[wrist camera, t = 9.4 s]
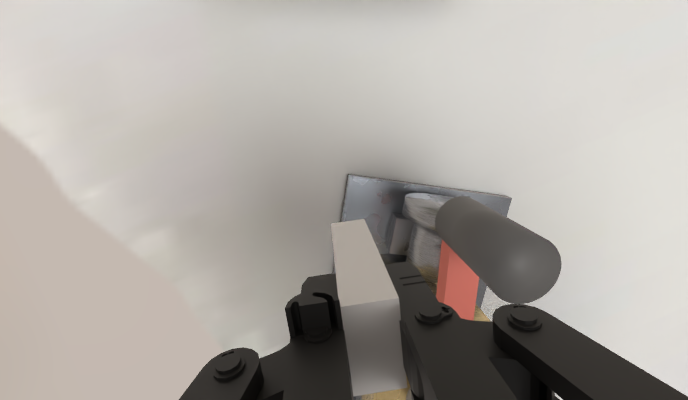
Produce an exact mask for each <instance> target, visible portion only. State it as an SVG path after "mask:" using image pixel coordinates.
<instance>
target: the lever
mask: <svg viewBox="0 0 688 400" xmlns="http://www.w3.org/2000/svg"><path fill="white" fill-rule="evenodd" d="M435 228H436V231H437V233H438V235H439V236H440V238H441V239H442V244H441V254H440V264H439V273H438V283H437V293H436V298H437V300H438V301H439V302H441V303H444V304H446V305H448V306H450V307H452V308H453V309H454V310H455V311H456V312H457V314H458V315H459V316H460V318H462V319H466V320H473V319H474V312H475V305H476V298H477V290H478V283H479V278H480V279H481V280H482V281H483V282H484V283H485V284H486V285H487V286H488V287H489V288H490V289H491V290H492V291H493V292H494V293H495V294H496V295H497V296H498V297H499V298H501V299H502V300H504V301H506V302H509V303H514V304H524V303H529V302H532V301H535V300H537V299H539V298H540V297H542V296H543V295H545V294H546V293H547V292H548V291H549V290H550V289H551V288H552V287H553V286H554V284H555V283H556V281H557V279H558V277H559V274H560V270H561V258H560V254H559V252H558V250H557V248H556V247H555V246H554V245H553V244H552V243H551V242H550V241H548V240H547V239H545V238H543V237H541V236H539V235H538V234H536V233H534V232H532V231H530V230H528V229H527V228H525V227H523V226H521V225H519V224H518V223H516V222H514V221H512V220H510V219H509V218H507V217H505V216H503V215H501V214H500V213H498V212H496V211H494V210H492V209H491V208H489V207H487V206H485V205H483V204H482V203H480V202H478V201H476V200H474V199H472V198H470V197H465V196H460V197H455V198H452V199H450V200H448V201H447V202H445V203H444V204H443V205H442V206H441V207H440V209H439V210H438V212H437V215H436V218H435ZM406 400H412V398H411V387H410V388H409V390H408V392H407V395H406Z"/></svg>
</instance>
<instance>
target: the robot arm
mask: <svg viewBox="0 0 688 400" xmlns="http://www.w3.org/2000/svg"><path fill="white" fill-rule="evenodd" d="M331 232H332V242H333V251H334V261H335V271H336V273H333V274H327V275H320V276H313V277H308V278H307V280H306V281H305V282H304V283H303V285H302V290H301V294H299V295H297V296H295V297H294V298H292V299H291V300H290V301H289V302H288V303H287V305H286V307H285V311H286V317H287V322H288V327H289V332H290V337H291V338H290V343H289V344H288V345H287V346H285V347H284V348H283V349H281V350H279V351H277V352H275V353H273V354H270V355H268V356H265V357H263V358H260V359H259V356H258V353H256V352H255V351H254V350H252V349H248V348H236V349H231V350H228V351H226V352H223V353H221V354H219V355H218V356H216V357H214V358H213V359H211V360H210V361H209V362H208V363H207V364H206V365H205V366H204V367H203V369H202V370H201V371H200V372H199V374H198V375H197V377H196V378H195V379H194V381H193V382H192V383H191V384H190V386H189V387H188V389H187V390H186V391H185V392H184V394H183V395H182V396H181V398H180V399H179V400H354V398H353V396H359V395H365V394H372V393H378V392H384V391H390V390H396V389H402V388H407V380H406V375H407V378H408V381H409V384H410V387H411V398H412V400H559V399H558V398H557V397H556V396H555V393H556V394H557V395H558V396H560V397H561V398H562V399H563V400H688V397H687V396H686V395H684V394H682V393H681V392H679V391H677V390H676V389H674V388H672V387H671V386H669V385H667V384H666V383H664V382H662V381H660V380H659V379H657V378H655V377H654V376H652V375H650V374H649V373H647V372H645V371H644V370H642V369H640V368H639V367H637V366H635V365H634V364H632V363H630V362H629V361H627V360H625V359H624V358H622V357H620V356H619V355H617V354H615V353H614V352H612V351H610V350H609V349H607V348H605V347H604V346H602V345H600V344H599V343H597V342H595V341H594V340H592V339H590V338H588V337H587V336H585V335H583V334H582V333H580V332H578V331H577V330H575V329H573V328H572V327H570V326H568V325H567V324H565V323H563V322H562V321H560V320H558V319H557V318H555V317H553V316H552V315H550V314H548V313H547V312H545V311H542V310H540V309H538V308H536V307H532V306H527V305H523V304H510V305H505V306H501V307H500V308H498V309H496V310H495V312H494V314H493V322H489V321H474V320H466V319H462V318H460V316H459V315H458V314H457V312H456V311H455V310H454V309H453V308H452V307H450V306H448V305H446V304H444V303H441V302H439V301H438V300H437V298H436V297H435V295H434V294H433V292H432V290H431V289H430V287H429V286H428V284H427V283H426V282H425V280H424V278H423V277H422V276H421V273H420V272H419V270H418V269H417V267H415V266H414V265H412V264H410V263H408V262H400V263H394V264H387V265H384V263H383V260H382V258H381V256H380V254H379V251H378V249H377V247H376V244H375V242H374V240H373V238H372V235H371V233H370V231H369V228H368V226H367V224H366V222H365V219H359V220H352V221H345V222H338V223H331Z"/></svg>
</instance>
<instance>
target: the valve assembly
mask: <svg viewBox="0 0 688 400" xmlns="http://www.w3.org/2000/svg"><path fill="white" fill-rule="evenodd" d="M460 196H465V197H470V198H472V199H474V200H476V201H478V202H480V203H482V204H483V205H485V206H487V207H489V208H491V209H492V210H494V211H496V212H498V213H500V214H501V215H503V216H505V217H507V213H508V210H509V206H510V203H511V199H512V198H510V197H508V196H503V195H495V194H488V193H481V192H474V191H467V190H459V189H452V188H445V187H438V186H431V185H424V184H416V183H409V182H402V181H395V180H388V179H380V178H373V177H366V176H359V175H352V174H348V179H347V186H346V192H345V198H344V205H343V211H342V217H341V222H345V221H352V220H359V219H365V222H366V224H367V226H368V228H369V231H370V233H371V235H372V238H373V240H374V242H375V244H376V247H377V249H378V251H379V254H380V256H381V258H382V260H383V263H384V265H387V264H394V263H400V262H408V263H410V264H412V265H414V266H415V267H417V269H418V270H419V272H420V273H421V276H422V277H423V278H424V280H425V282H426V283H427V284H428V286H429V287H430V289H431V290H432V292H433V294H434V295H435V297H436V293H437V283H438V273H439V264H440V254H441V244H442V239H441V238H440V236H439V235H438V233H437V231H436V228H435V218H436V215H437V212H438V210H439V209H440V207H441V206H442V205H443V204H444V203H445V202H447V201H448V200H450V199H452V198H455V197H460ZM333 273H336V271H335V262H334V268H333ZM486 287H487V285H486V284H485V283H484V282H483V281H482V280H481V279H480V278H479V283H478V290H477V298H476V305H475V312H474V319H473V320H474V321H489V322H491V321H490V320H489V319H488V318H487V317H486V315H485V314H484V313H483V312H482V311H481V309H480V308H481V304H482V301H483V297H484V294H485V290H486ZM406 380H407V388H402V389H396V390H390V391H384V392H378V393H372V394H365V395H359V396H353V398H354V400H406V395H407V392H408V390H409V388H410V384H409V381H408V378H407V375H406Z"/></svg>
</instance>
